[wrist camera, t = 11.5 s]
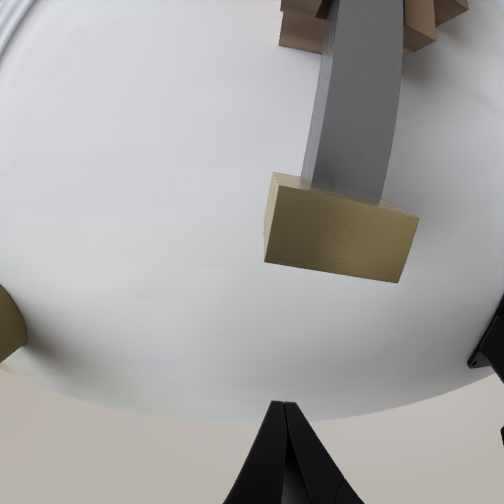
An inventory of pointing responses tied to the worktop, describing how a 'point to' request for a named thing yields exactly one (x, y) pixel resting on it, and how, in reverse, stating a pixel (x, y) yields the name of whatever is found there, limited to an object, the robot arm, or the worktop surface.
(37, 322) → the worktop surface
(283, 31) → the dock
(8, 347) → the cork
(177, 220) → the worktop surface
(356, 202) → the lock bolt
